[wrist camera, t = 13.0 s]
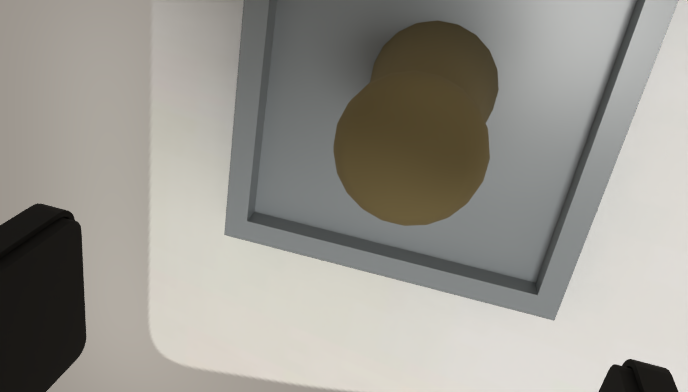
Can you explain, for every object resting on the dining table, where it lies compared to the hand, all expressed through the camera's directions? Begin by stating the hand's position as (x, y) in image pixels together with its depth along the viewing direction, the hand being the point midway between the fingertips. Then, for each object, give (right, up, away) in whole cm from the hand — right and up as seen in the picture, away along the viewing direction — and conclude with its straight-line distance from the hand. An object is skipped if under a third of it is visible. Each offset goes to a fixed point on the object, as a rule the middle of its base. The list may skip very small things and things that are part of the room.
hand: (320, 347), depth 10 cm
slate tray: (+5, +8, +19) cm, 21 cm away
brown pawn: (+5, +8, +18) cm, 20 cm away
